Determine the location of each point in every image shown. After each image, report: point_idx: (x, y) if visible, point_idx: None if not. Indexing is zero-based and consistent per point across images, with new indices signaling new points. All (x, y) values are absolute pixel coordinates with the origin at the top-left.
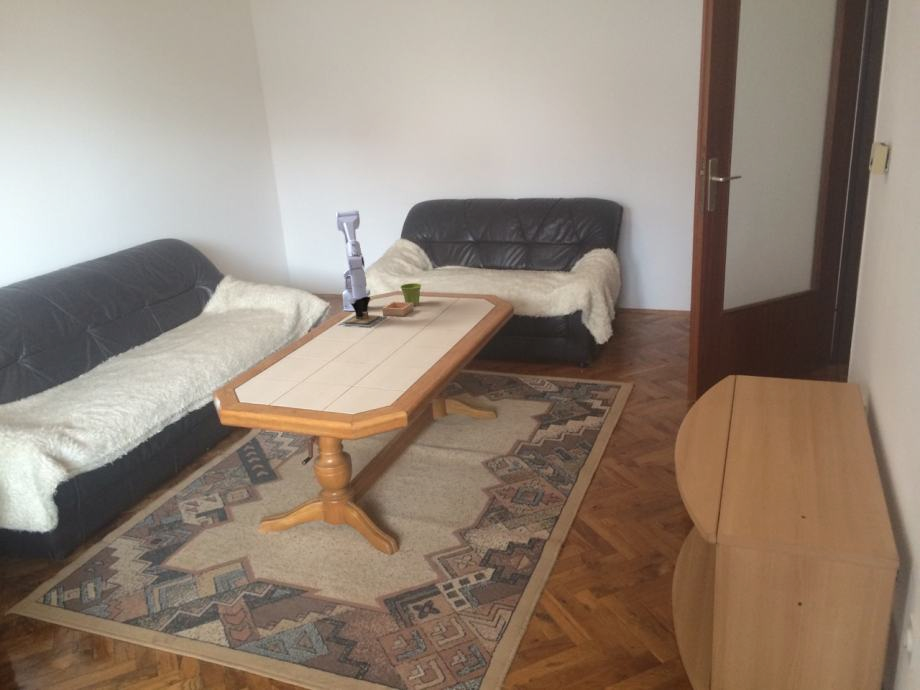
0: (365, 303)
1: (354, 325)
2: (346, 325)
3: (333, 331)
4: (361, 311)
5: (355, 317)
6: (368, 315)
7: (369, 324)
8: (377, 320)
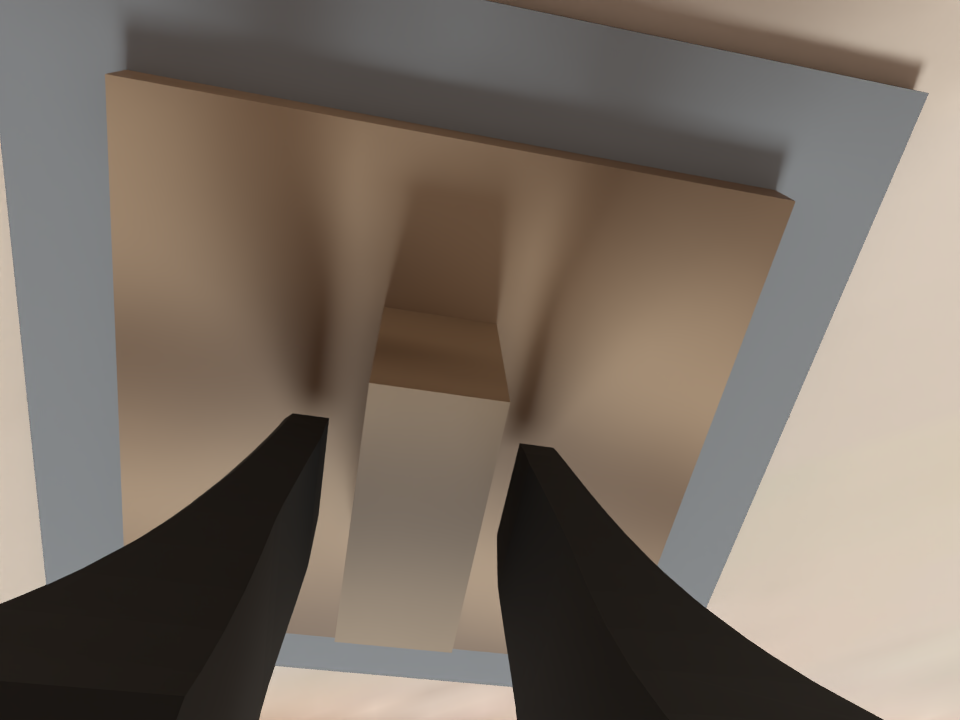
0: (241, 638)
1: (753, 453)
2: (717, 580)
3: (953, 652)
4: (614, 525)
5: (341, 586)
6: (158, 387)
7: (739, 158)
8: (410, 53)
